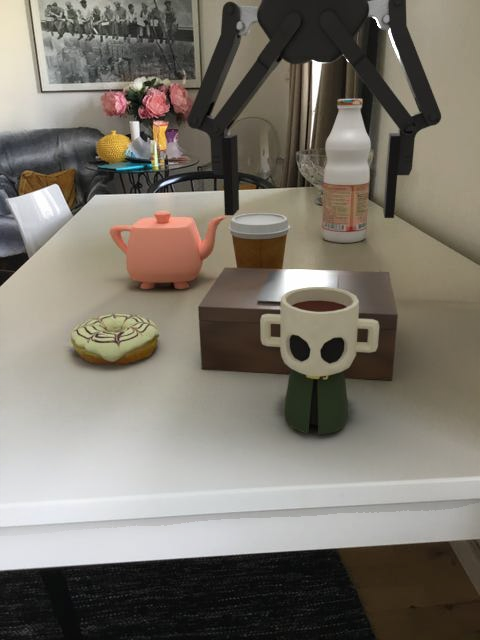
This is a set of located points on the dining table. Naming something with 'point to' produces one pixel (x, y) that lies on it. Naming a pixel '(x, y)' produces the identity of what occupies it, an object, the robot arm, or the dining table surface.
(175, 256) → the teapot
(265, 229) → the disposable coffee cup
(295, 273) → the wooden jewelry box
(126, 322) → the decorated donut
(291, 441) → the dining table surface
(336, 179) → the fruit juice
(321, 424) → the character mug
